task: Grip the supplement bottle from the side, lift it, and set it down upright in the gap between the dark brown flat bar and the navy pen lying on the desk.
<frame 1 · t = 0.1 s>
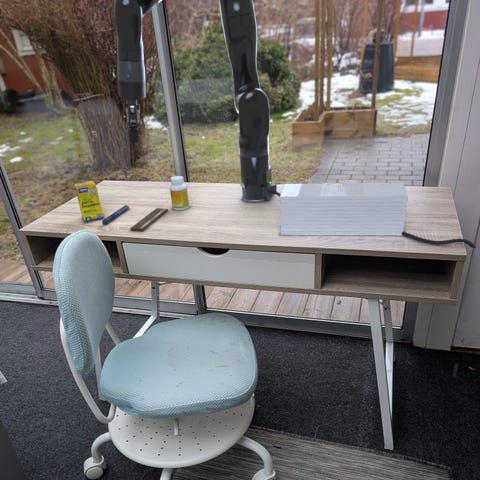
hand: (134, 139, 141), 22 cm above the table, tool pointing down, fingers open, 8 cm apart
supplement box: (93, 218, 152), on the table
dark brown flat bar: (150, 220, 146), on the table
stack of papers: (340, 228, 131), on the table
pen: (116, 217, 151), on the table
supplement bottle: (181, 208, 154), on the table
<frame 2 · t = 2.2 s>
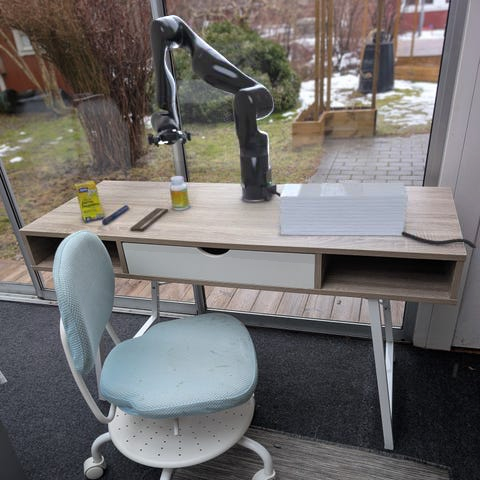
hand: (170, 142, 153), 18 cm above the table, tool horizontal, fingers open, 8 cm apart
nothing on the table moved.
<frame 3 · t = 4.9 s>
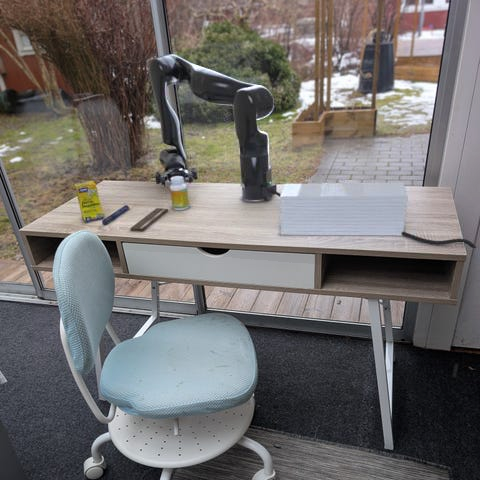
hand: (177, 181, 158), 6 cm above the table, tool horizontal, fingers open, 8 cm apart
nothing on the table moved.
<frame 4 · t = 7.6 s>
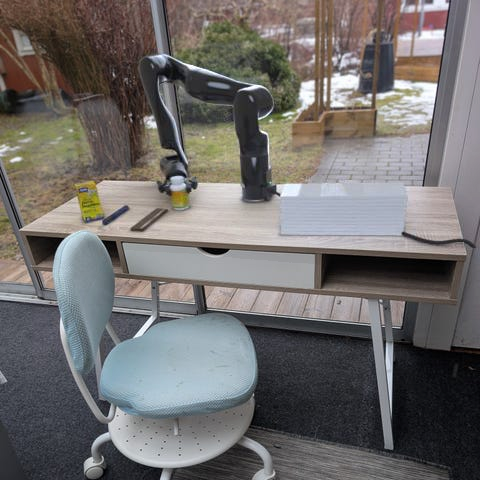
hand: (178, 191, 149), 6 cm above the table, tool horizontal, fingers closed on supplement bottle, 5 cm apart
supplement bottle: (181, 208, 154), on the table, touching gripper
everything else where it was.
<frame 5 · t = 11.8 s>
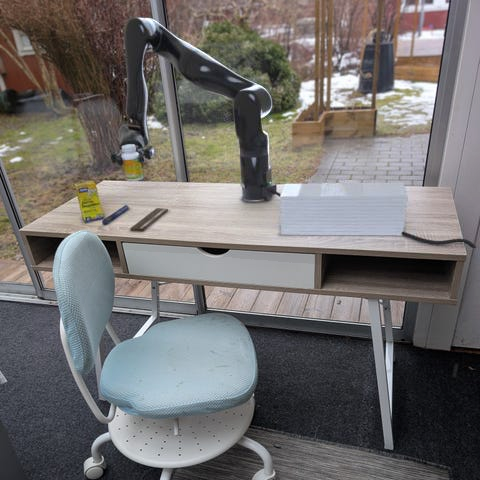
hand: (130, 160, 139), 18 cm above the table, tool horizontal, fingers closed on supplement bottle, 5 cm apart
supplement bottle: (134, 179, 144), point 11 cm above the table, touching gripper
everything else where it was.
when the fingers open (6 cm above the table, at t = 15.9 s): supplement bottle stays where it is, on the table.
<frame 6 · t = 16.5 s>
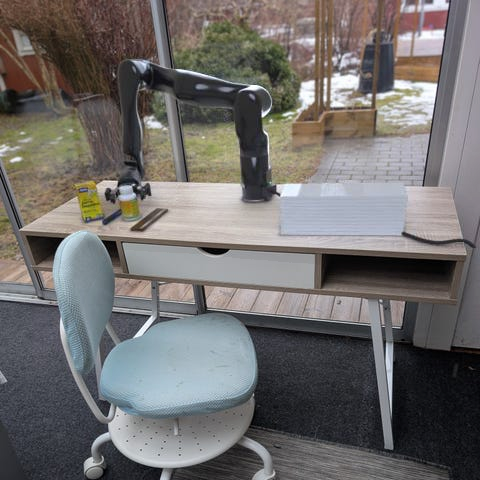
hand: (127, 199, 144), 7 cm above the table, tool horizontal, fingers open, 8 cm apart
supplement bottle: (131, 218, 149), on the table
everything else where it was.
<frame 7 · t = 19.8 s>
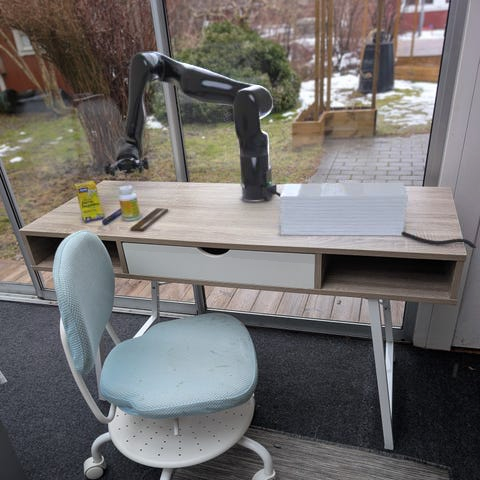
hand: (126, 171, 152), 12 cm above the table, tool horizontal, fingers open, 8 cm apart
nothing on the table moved.
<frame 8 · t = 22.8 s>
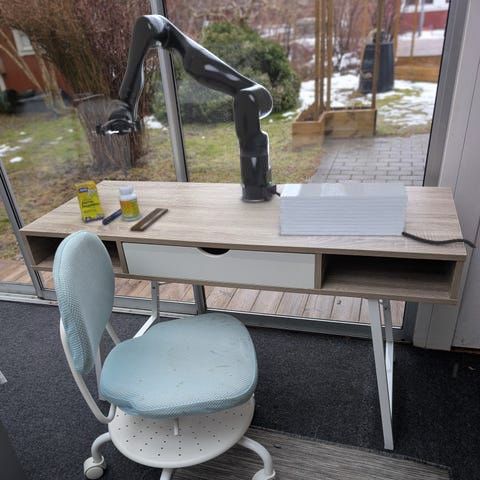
hand: (117, 130, 145), 24 cm above the table, tool horizontal, fingers open, 8 cm apart
nothing on the table moved.
at the end: supplement bottle inside the target area (0.3 cm from its centre), on the table; supplement bottle tilted 0°; the gripper is holding nothing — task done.
